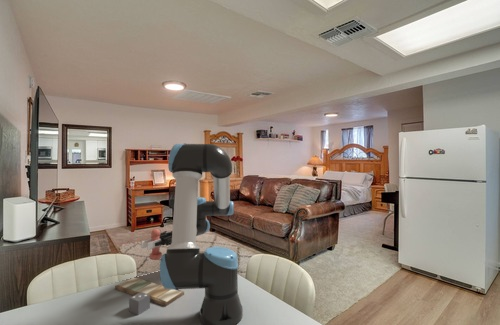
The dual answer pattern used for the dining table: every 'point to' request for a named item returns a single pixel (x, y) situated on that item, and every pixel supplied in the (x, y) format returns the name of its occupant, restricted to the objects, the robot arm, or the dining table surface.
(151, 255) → the pawn
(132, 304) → the die
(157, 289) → the board
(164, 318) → the dining table surface
